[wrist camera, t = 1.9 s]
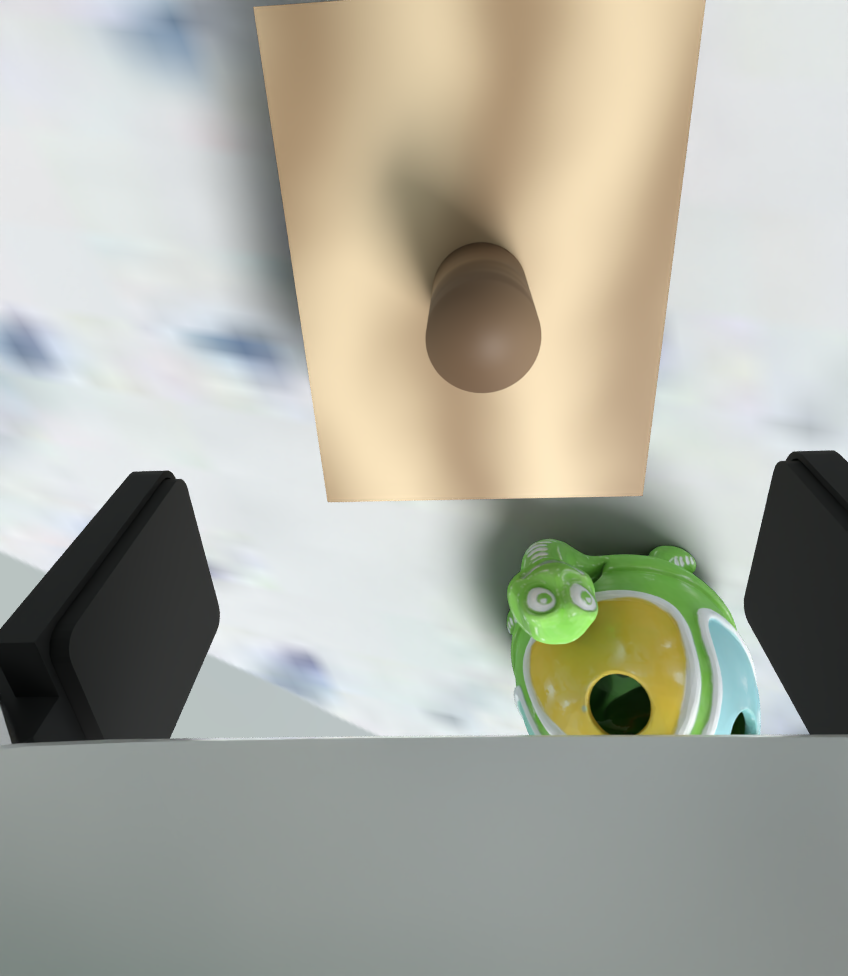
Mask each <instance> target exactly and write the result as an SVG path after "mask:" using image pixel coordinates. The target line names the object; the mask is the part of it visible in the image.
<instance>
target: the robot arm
mask: <svg viewBox="0 0 848 976" xmlns="http://www.w3.org/2000/svg"><path fill="white" fill-rule="evenodd" d="M744 610H745V615H746V618H747V621H748V623H749V624H750V626H751V628H752V630H753V632H754V634H755V635H756V637H757V639H758V641H759V643H760V644H761V646H762V648H763V650H764V652H765V654H766V655H767V657H768V659H769V661H770V663H771V664H772V666H773V668H774V670H775V672H776V674H777V675H778V677H779V679H780V681H781V683H782V684H783V686H784V688H785V690H786V692H787V694H788V695H789V697H790V699H791V701H792V703H793V704H794V706H795V708H796V710H797V712H798V714H799V715H800V717H801V719H802V721H803V723H804V724H805V726H806V728H807V730H808V732H809V734H810V735H485V736H364V737H362V736H360V737H359V736H358V737H280V738H279V737H274V738H273V737H272V738H271V737H270V738H190V739H188V738H184V739H170V737H171V734H172V732H173V730H174V728H175V726H176V723H177V721H178V719H179V716H180V714H181V712H182V709H183V707H184V705H185V703H186V700H187V698H188V696H189V693H190V691H191V689H192V686H193V684H194V682H195V679H196V677H197V675H198V672H199V670H200V668H201V666H202V664H203V661H204V659H205V657H206V654H207V652H208V650H209V648H210V645H211V643H212V641H213V638H214V636H215V634H216V631H217V629H218V626H219V619H220V611H219V605H218V601H217V597H216V594H215V590H214V586H213V582H212V579H211V575H210V571H209V567H208V564H207V560H206V556H205V552H204V549H203V545H202V541H201V537H200V534H199V530H198V526H197V522H196V518H195V515H194V511H193V507H192V503H191V500H190V496H189V492H188V488H187V486H186V483H185V482H184V481H183V480H182V479H176V478H175V476H174V475H173V473H172V472H170V471H142V472H132V473H131V474H130V475H129V476H128V477H127V478H126V479H125V481H124V482H123V483H122V484H121V485H120V487H119V488H118V489H117V490H116V491H115V493H114V494H113V495H112V496H111V497H110V498H109V500H108V501H107V502H106V503H105V504H104V506H103V507H102V508H101V509H100V510H99V512H98V513H97V514H96V515H95V516H94V518H93V519H92V520H91V521H90V522H89V524H88V525H87V526H86V527H85V528H84V530H83V531H82V532H81V533H80V534H79V536H78V537H77V538H76V539H75V540H74V541H73V543H72V544H71V545H70V546H69V547H68V549H67V550H66V551H65V552H64V553H63V555H62V556H61V557H60V558H59V559H58V561H57V562H56V563H55V564H54V565H53V567H52V568H51V569H50V570H49V571H48V573H47V574H46V575H45V576H44V577H43V579H42V580H41V581H40V582H39V583H38V585H37V586H36V587H35V588H34V589H33V590H32V592H31V593H30V594H29V595H28V597H27V598H26V599H25V600H24V601H23V603H22V604H21V605H20V606H19V607H18V608H17V610H16V611H15V612H14V613H13V615H12V616H11V617H10V618H9V619H8V620H7V622H6V623H5V624H4V625H3V626H2V628H1V629H0V976H848V462H847V461H846V460H845V459H844V458H843V457H842V456H841V455H840V454H839V453H837V452H835V451H797V452H792V453H791V454H790V455H789V456H788V458H787V459H786V461H780V462H778V463H777V465H776V466H775V469H774V472H773V476H772V480H771V484H770V489H769V493H768V497H767V502H766V506H765V510H764V515H763V519H762V523H761V527H760V532H759V536H758V540H757V545H756V549H755V553H754V558H753V562H752V566H751V571H750V575H749V579H748V583H747V588H746V592H745V597H744Z"/></svg>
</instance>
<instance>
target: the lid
mask: <svg viewBox="0 0 848 976" xmlns="http://www.w3.org/2000/svg"><path fill="white" fill-rule="evenodd" d="M705 2H706V0H341V1H327V2H314V3H300V4H286V5H273V6H259V7H253V8H254V15H255V22H256V28H257V35H258V42H259V48H260V55H261V61H262V68H263V75H264V81H265V88H266V95H267V101H268V108H269V115H270V121H271V128H272V135H273V141H274V148H275V155H276V161H277V168H278V175H279V181H280V188H281V195H282V201H283V208H284V215H285V221H286V228H287V235H288V241H289V248H290V254H291V261H292V268H293V274H294V281H295V288H296V294H297V301H298V308H299V314H300V321H301V328H302V334H303V341H304V348H305V354H306V361H307V368H308V374H309V381H310V388H311V394H312V401H313V408H314V414H315V421H316V428H317V434H318V441H319V448H320V454H321V461H322V467H323V474H324V481H325V487H326V494H327V501H328V502H360V501H411V500H461V499H512V498H562V497H613V496H643V489H644V481H645V473H646V465H647V458H648V450H649V442H650V434H651V426H652V418H653V410H654V403H655V395H656V387H657V379H658V371H659V363H660V355H661V348H662V340H663V332H664V324H665V316H666V308H667V300H668V292H669V285H670V277H671V269H672V261H673V253H674V245H675V237H676V230H677V222H678V214H679V206H680V198H681V190H682V182H683V175H684V167H685V159H686V151H687V143H688V135H689V127H690V120H691V112H692V104H693V96H694V88H695V80H696V72H697V65H698V57H699V49H700V41H701V33H702V25H703V17H704V10H705Z"/></svg>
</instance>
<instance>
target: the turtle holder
mask: <svg viewBox="0 0 848 976" xmlns="http://www.w3.org/2000/svg"><path fill="white" fill-rule="evenodd" d="M695 569H696V563H695V559H694V558H693V557H692V556H691V555H690V554H689V553H688V552H686V551H685V550H683V549H681V548H678V547H674V546H659V547H656V548H655V549H653V550H652V551H651V552H650V554H649V556H644V555H634V554H620V555H603V556H589V555H585V554H582V553H581V552H579V551H578V550H576V549H574V548H572V547H571V546H570V545H568V544H567V543H565V542H563V541H558V540H556V539H542V540H540V541H537V542H535V543H533V544H532V545H531V546H530V547H529V548H528V549H527V550H526V552H525V554H524V556H523V558H522V564H521V571H520V572H519V573H518V574H516V575H515V576H514V577H513V578H512V580H511V581H510V583H509V585H508V588H507V599H508V603H509V607H510V611H509V613H508V616H507V630H508V632H509V633H510V634H511V635H512V642H511V660H512V667H513V671H514V675H515V678H516V688H515V690H514V700H515V703H516V706H517V709H518V711H519V713H520V715H521V716H522V718H523V720H524V722H525V725H526V728H527V731H528V733H529V735H760V701H759V694H758V689H757V680H756V673H755V668H754V664H753V661H752V657H751V654H750V652H749V649H748V647H747V646H746V644H745V642H744V640H743V639H742V638H741V636H740V635H739V633H738V632H737V629H736V626H735V623H734V620H733V618H732V615H731V613H730V612H729V610H728V608H727V607H726V605H725V604H724V602H723V601H722V600H721V599H720V597H719V596H718V595H717V594H716V593H715V592H714V591H713V590H712V589H711V588H710V587H709V586H708V585H707V584H705V583H704V582H703V581H702V580H701V579H699V578H698V577H697V576H695V575H694V574H692V573H693V572H694V571H695Z"/></svg>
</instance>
